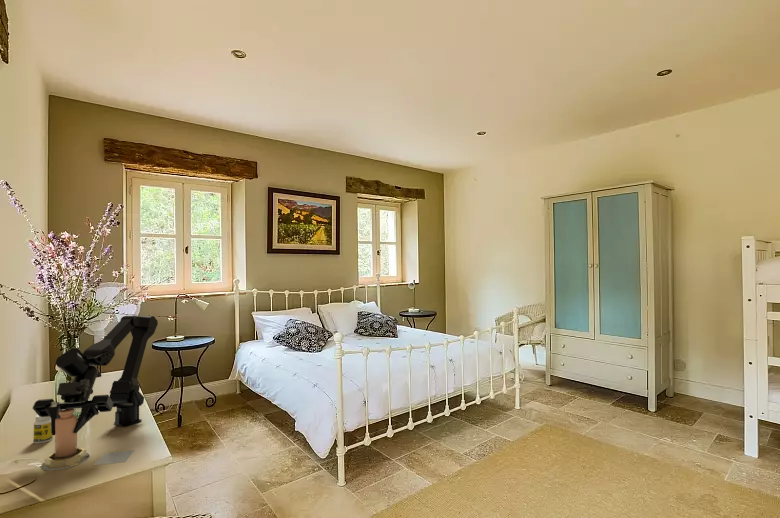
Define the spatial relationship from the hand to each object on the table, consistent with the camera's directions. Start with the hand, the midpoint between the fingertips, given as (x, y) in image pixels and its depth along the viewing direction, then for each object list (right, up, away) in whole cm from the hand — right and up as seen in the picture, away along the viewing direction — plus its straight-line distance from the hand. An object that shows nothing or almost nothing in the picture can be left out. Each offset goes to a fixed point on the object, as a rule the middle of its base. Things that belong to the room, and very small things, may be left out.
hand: (63, 433), depth 116 cm
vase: (0, -6, +1) cm, 6 cm away
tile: (+12, -9, +3) cm, 15 cm away
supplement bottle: (-20, -10, +17) cm, 28 cm away
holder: (0, -9, +1) cm, 9 cm away
